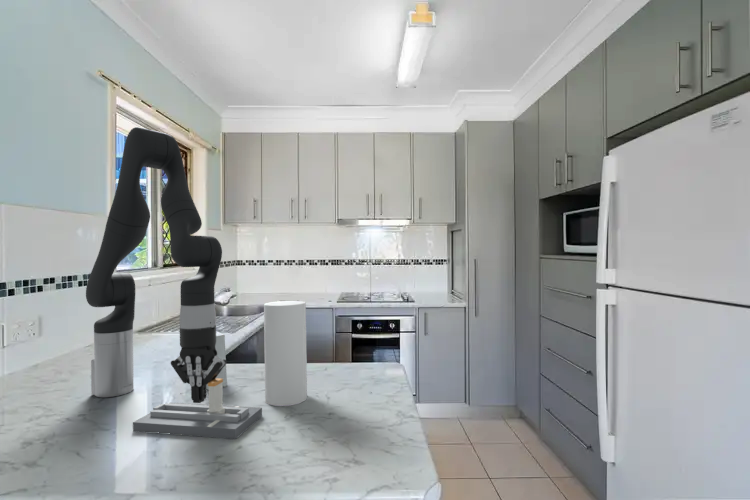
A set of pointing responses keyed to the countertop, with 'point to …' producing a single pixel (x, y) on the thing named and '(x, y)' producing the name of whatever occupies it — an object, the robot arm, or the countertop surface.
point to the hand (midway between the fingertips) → (199, 401)
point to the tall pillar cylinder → (285, 352)
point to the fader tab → (216, 396)
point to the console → (198, 420)
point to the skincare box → (222, 355)
